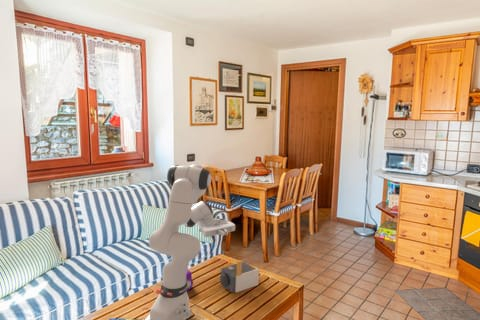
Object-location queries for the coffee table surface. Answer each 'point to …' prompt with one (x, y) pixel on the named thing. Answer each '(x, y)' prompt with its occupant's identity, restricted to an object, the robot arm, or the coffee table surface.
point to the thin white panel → (245, 278)
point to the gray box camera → (233, 275)
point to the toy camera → (189, 280)
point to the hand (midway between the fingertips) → (225, 233)
